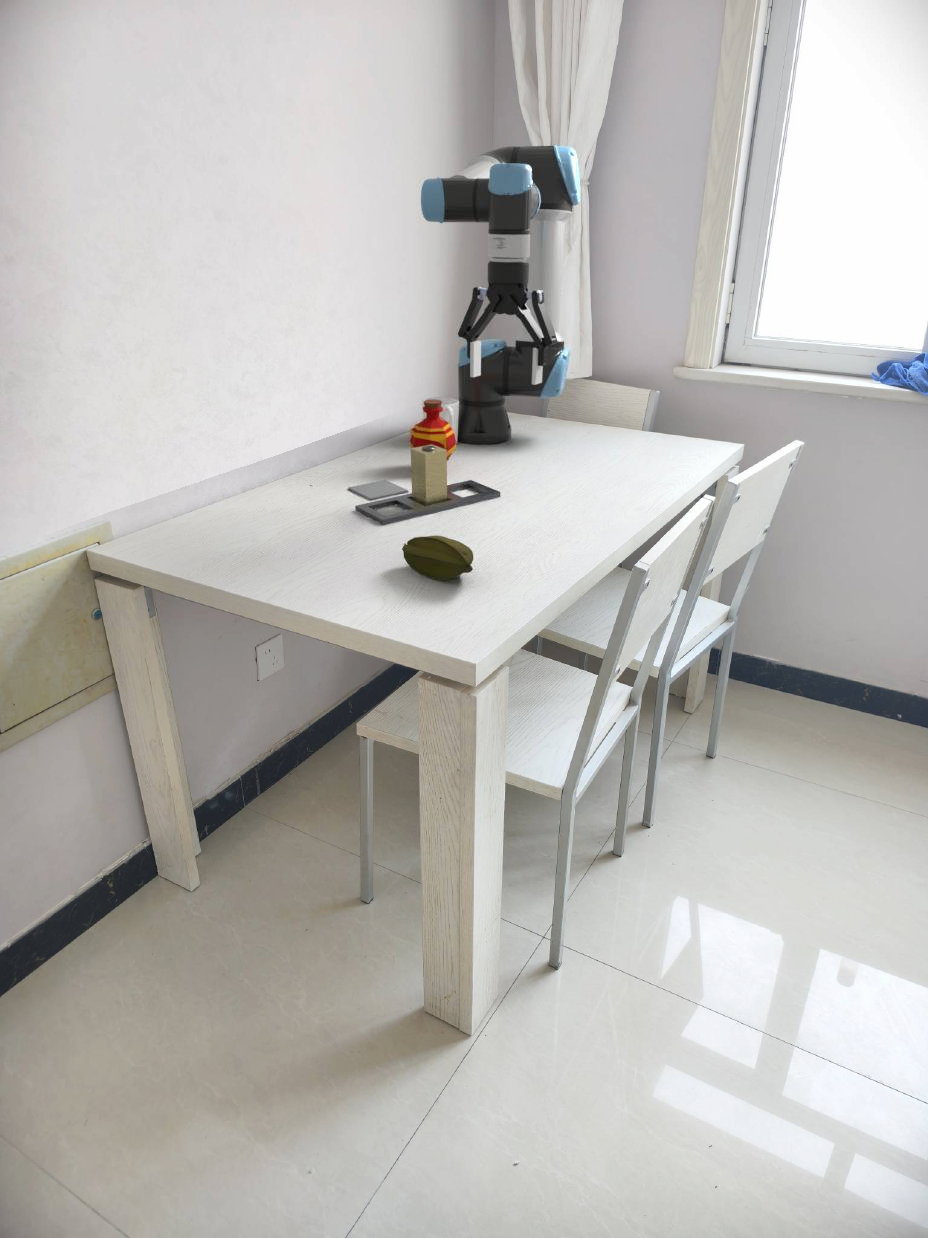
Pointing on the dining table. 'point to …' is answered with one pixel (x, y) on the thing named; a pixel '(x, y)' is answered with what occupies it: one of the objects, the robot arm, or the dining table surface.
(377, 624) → the dining table surface
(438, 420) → the potion bottle
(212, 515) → the dining table surface
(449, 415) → the mug
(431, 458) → the brass block with knob
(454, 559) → the fruit
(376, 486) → the pad
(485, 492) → the grey triple frame
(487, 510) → the dining table surface
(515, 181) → the robot arm
